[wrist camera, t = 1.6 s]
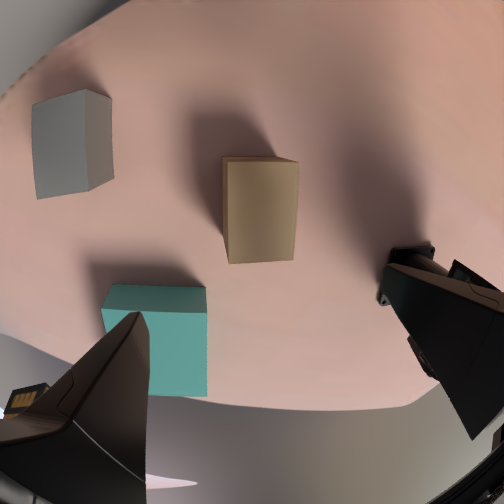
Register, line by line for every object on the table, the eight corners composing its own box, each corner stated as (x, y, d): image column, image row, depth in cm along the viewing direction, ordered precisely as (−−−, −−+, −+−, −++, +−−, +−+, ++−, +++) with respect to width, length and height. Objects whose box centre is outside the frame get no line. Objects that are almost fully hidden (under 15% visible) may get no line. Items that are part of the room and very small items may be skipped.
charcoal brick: (112, 98, 15) (85, 88, 11) (114, 178, 18) (88, 191, 13) (66, 109, 15) (32, 105, 10) (69, 184, 17) (36, 199, 12)
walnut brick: (276, 156, 19) (299, 162, 15) (274, 233, 22) (293, 260, 17) (221, 156, 19) (227, 161, 14) (222, 235, 21) (229, 264, 16)
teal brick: (205, 285, 23) (207, 313, 19) (205, 366, 26) (207, 396, 23) (113, 282, 21) (100, 308, 17) (130, 364, 25) (124, 392, 21)
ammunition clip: (20, 398, 25) (-1, 456, 14) (12, 390, 24) (-11, 448, 13) (55, 391, 25) (33, 463, 14) (45, 382, 24) (20, 455, 13)
